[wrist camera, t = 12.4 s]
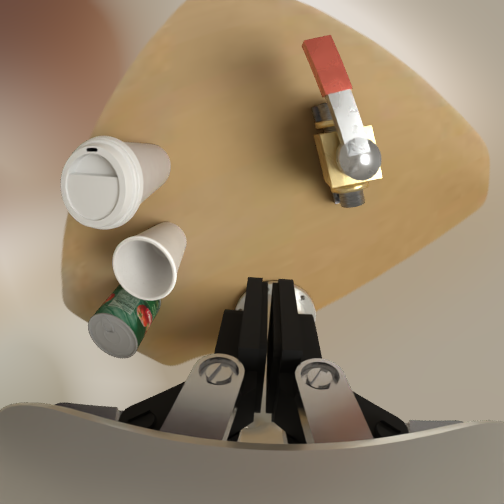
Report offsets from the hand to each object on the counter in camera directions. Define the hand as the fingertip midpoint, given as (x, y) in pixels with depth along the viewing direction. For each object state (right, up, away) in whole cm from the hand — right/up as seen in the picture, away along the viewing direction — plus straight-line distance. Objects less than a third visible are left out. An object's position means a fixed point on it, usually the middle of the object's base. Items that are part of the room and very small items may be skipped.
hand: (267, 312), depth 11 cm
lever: (+8, +17, +15) cm, 24 cm away
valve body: (+11, +15, +25) cm, 31 cm away
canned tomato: (-19, -5, +35) cm, 40 cm away
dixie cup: (-13, +4, +31) cm, 34 cm away
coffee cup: (-15, +14, +27) cm, 34 cm away
